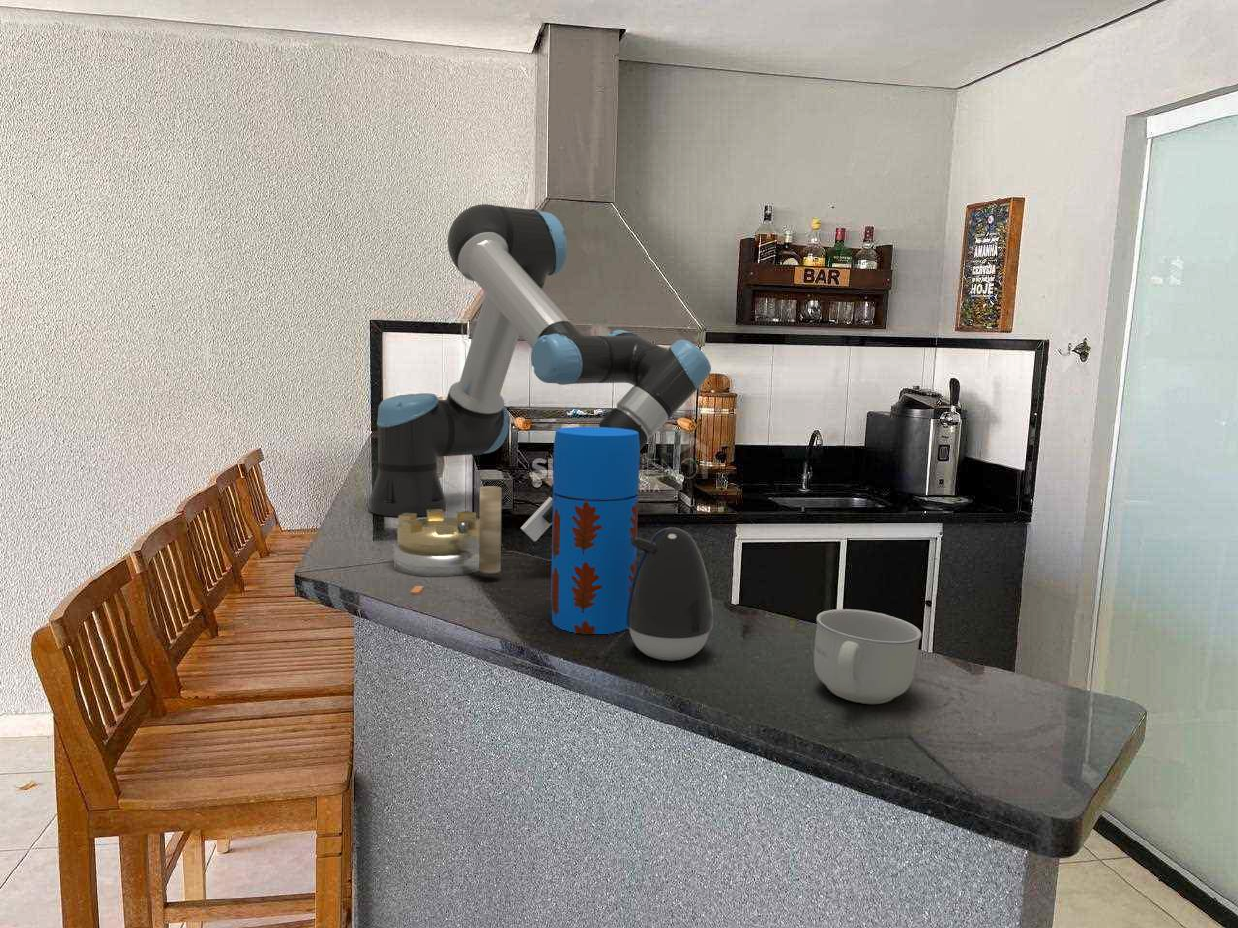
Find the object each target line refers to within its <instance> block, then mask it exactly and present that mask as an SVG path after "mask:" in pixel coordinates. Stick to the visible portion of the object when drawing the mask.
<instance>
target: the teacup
mask: <svg viewBox="0 0 1238 928" xmlns="http://www.w3.org/2000/svg"><path fill="white" fill-rule="evenodd" d="M921 638H922V632H921V630H920V629H919V628H918V627H917V626H915V625H914V624H912V623H910V622H909V621H906V620H903V619H901V618H898V617H895V616H891V615H888V614H886V613H882V612H875V611H870V610H864V609H852V608H851V609H850V608H838V609H837V608H836V609H828V610H824V611H822V612H820V613H818V614H817V616H816V629H815V638H814V649H813V665H814V671H815V674H816V675H817V677H818V679H819V680H820V681H821V682H822V683H823V684H824V685H825V686H826V688H827V689H828V690H829V692H831V694H833V695H835V696H837V697H839V698H841V699H844V700H847V701H850V702H854V703H858V704H859V703H860V704H866V705H881V704H885V703H888V702H891V701H892V700H894V699H895V698H897V697H899V696H901V695H903V694H904V693H905V692H906V691H907V690H908V689H909V687H910V686H911V684H912V681H913V679H914V675H915V670H916V664H917V658H918V652H919V644H920V640H921Z"/></svg>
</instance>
